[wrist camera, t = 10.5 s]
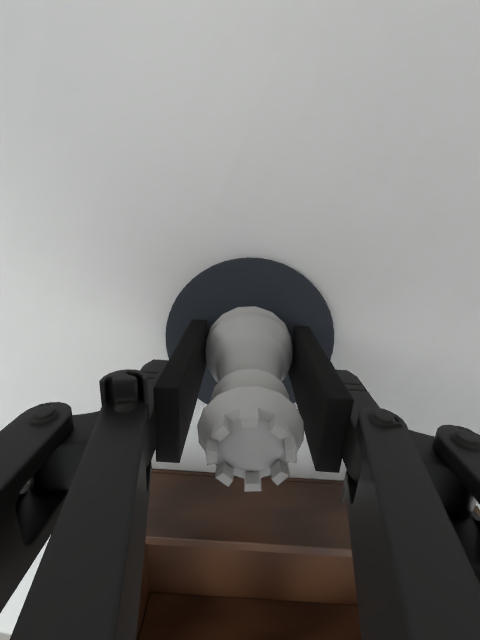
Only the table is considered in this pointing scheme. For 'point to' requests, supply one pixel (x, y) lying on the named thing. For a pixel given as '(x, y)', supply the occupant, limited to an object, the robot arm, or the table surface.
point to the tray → (247, 561)
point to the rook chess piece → (250, 399)
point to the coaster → (250, 304)
